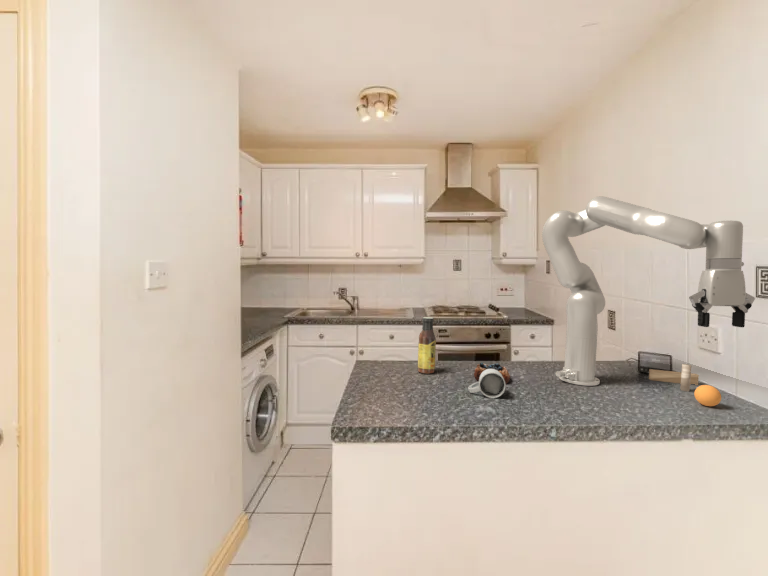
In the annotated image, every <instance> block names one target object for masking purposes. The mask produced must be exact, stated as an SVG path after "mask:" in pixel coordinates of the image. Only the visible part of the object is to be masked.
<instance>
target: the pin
mask: <svg viewBox="0 0 768 576" xmlns="http://www.w3.org/2000/svg"><path fill="white" fill-rule="evenodd" d="M681 372H682V373H681V383H680V387H679V389H680V391H682V392H690V388H691V384H690V378H691V373H692V365H691V364H686V363H682V364H681Z"/></svg>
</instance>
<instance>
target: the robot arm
mask: <svg viewBox="0 0 768 576" xmlns="http://www.w3.org/2000/svg"><path fill="white" fill-rule="evenodd" d="M605 226H607V227H611V228H614V229H617V230H621V231H623V232H626V233H629V234H633V235H638V236H639V235H640V236H646V237H649V238H653V239H656V240H659V241H662V242H666V243H669V244H671V245H674V246H678V247H679V248H682V249H685V250H695V249H702V248H705V270H702V271H701V274H700V276H699V281H698V288H697V292H695V293H694V294H692V295H690V296H689V298H688V299H689V301H690V303H691V306H692V308H694V310H695V312H697V326H699V327H702V328H703V327H704V328H709V327H710V319H711V318H710V315H711V313H710V312H709V310H710V309H711V308H712V307H731V309H733V311H732V313H731V314H732V315H731V316H732V317H731V326H732V327H737V328H744V327H745V325H746V324H745V323H746V322H745V321H746V314H747V313H749V310H750V309H752V305H753V303H754V302H755V300H756V297H755V296H753V295H751V294H749V293H747V292H746V280H745V279H746V278H745V274H744V271H743V270H742V267H744V266H745V263H744V261H743V260H742V259H743V240H744V239H743V238H744V225H743V223H742V221H739V220H721V221H714V222H713V221H712V222H711V223H709V224H701V223H700V222H697V221H695V220H691V219H688V218H685V217H680V216H677V215H673V214H670V213H665V212H662V211H658V210H655V209H651V208H649V207H645V206H641V205H637V204H633V203H630V202H626V201H622V200H619V199H616V198H611V197H608V196H595V197H593V198H591V199H590V200H589V201H588V202H587V204H586V206H585V209H582V210H579V211H577V212H572V211H569V210H559V211H558V210H557V211H555V212H553V213H552V214H551V215H550V216H549V217H548V218H547V220H545V223H544V225H543V228H542V231H541V233H542V234H541V235H542V236H541V237H542V242H543V246H544V249H545V251H546V253H547V255H548V258H549V261H550V264H551V266H552V268H553V270H554V271H553V272H555V273H554V274H555V275H556V278H557V280H558V282H559V284H560V285H561V286H562V287H564V288H567V289H569V290H570V292H571V294H570V295H569V297H568V298H567V300H566V303H565V315H566V332H565V352H564V366H563V367H562V370H557V371H556V372H555V376H556V377H557V378H559V379H560V380H561V381H563V382H565V383H569V384H571V385H572V384H573V385H576V386H577V385H578V386H585V387H586V386H587V387H592V386H593V387H594V386H598V385H600V379H599V378H597V377H595V376H596V363H597V349H598V348H597V347H598V315H599V314H601V313H602V312H603V311H604V310H605V307H606V298H605V295H604V293H603V291H602V289H601V286H600V285H599V283H598V280H597V277H596V276H595V273H594V272H593V270H592V269H591V268H592V267H590V266H589V265H587V264H586V263H584V262H582V261H580V260H579V257H578V256H577V253H576V251H575V248H574V247H573V245H572V243H571V241H570V239H569V237H570V238H574V237H578V236H582V235H584V234H586V233H590V232H592V231H595V230H597V229H600V228H603V227H605Z"/></svg>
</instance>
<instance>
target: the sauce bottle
mask: <svg viewBox="0 0 768 576" xmlns="http://www.w3.org/2000/svg"><path fill="white" fill-rule="evenodd" d="M434 318H435V317H431V316H424V317H422V319H421V321H422V328H421V332H420V333H419V336H418V346H417V347H418V349H417V371H418V373H421V374H424V375H425V374H426V375H429V374H430V375H431V374H434V373H435V368H436V353H437V351H436V350H437V348H436V347H437V339H436V335H435V332H434V321H435V320H434Z"/></svg>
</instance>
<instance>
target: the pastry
mask: <svg viewBox="0 0 768 576" xmlns="http://www.w3.org/2000/svg"><path fill="white" fill-rule="evenodd" d="M486 369H495V370H497V371H499V372H500V373H501V374H502V376H503V378H504V380H505V383H506V385H507V384H509V382H510V380H511V374H510V373H509V371H508V369H507V367H505V366H503V365H501V364H500V363H493V364H486V363H484V362H480V363H478V364H476V368H475V369H474V370H473V371H474V373H473V376H474V379H475V381H476V382H479V377H480V375H481V373H482V372H483V371H484V370H486Z"/></svg>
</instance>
